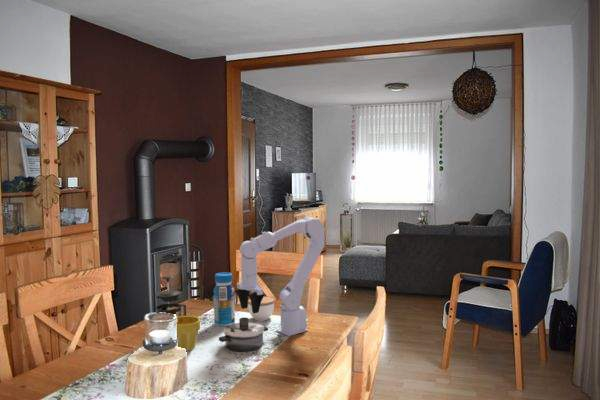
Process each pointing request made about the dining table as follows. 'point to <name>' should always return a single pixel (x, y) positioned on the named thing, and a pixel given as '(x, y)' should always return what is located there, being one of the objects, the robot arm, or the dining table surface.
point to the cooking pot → (243, 342)
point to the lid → (243, 329)
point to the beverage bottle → (224, 300)
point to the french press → (170, 300)
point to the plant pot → (187, 331)
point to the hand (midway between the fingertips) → (249, 310)
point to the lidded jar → (263, 309)
